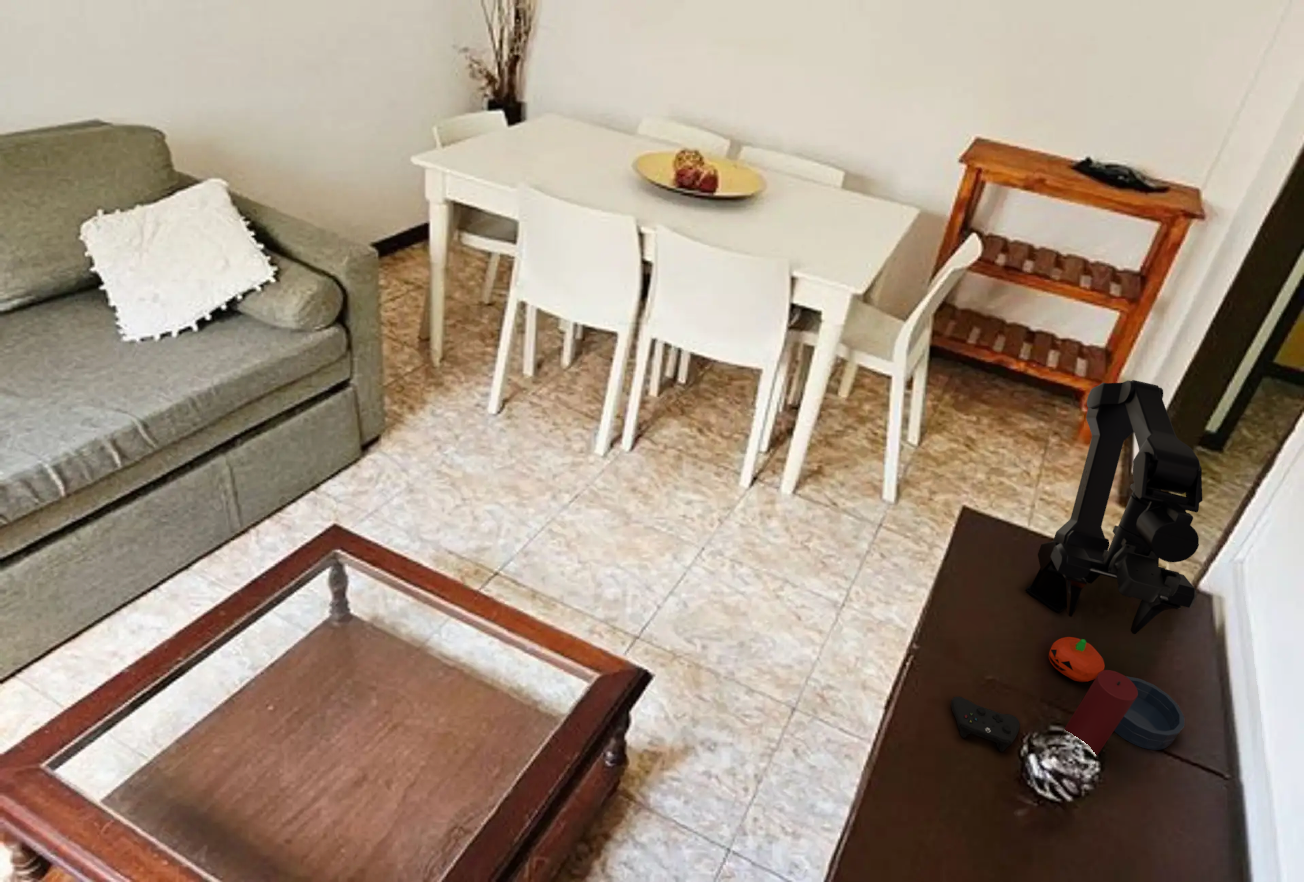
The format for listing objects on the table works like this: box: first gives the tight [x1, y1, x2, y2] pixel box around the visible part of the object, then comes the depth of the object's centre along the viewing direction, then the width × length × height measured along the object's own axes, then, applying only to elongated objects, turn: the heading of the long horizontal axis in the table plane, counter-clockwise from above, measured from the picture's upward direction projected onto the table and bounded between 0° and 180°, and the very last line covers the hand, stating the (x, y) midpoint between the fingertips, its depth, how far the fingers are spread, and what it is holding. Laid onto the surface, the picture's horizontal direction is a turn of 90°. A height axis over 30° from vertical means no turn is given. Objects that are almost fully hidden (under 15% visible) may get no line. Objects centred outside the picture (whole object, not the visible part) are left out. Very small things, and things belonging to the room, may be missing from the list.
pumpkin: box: [1048, 636, 1105, 683], centre depth 136 cm, size 7×8×6 cm
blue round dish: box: [1113, 675, 1185, 751], centre depth 130 cm, size 11×11×4 cm
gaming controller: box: [950, 696, 1021, 752], centre depth 124 cm, size 10×5×6 cm
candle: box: [1063, 669, 1138, 756], centre depth 121 cm, size 5×5×14 cm
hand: (1100, 624), depth 130 cm, fingers open, 9 cm apart
